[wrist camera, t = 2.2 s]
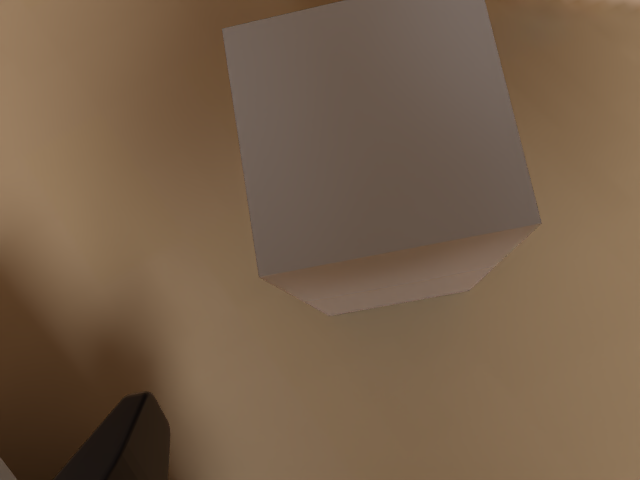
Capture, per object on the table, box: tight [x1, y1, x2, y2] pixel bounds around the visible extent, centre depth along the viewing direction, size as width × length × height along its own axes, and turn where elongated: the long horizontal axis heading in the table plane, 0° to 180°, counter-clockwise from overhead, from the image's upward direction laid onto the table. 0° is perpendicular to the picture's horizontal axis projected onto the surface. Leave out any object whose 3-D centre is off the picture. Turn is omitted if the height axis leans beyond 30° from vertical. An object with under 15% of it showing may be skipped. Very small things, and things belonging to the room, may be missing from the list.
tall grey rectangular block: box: [222, 0, 542, 316], centre depth 16 cm, size 5×5×11 cm
